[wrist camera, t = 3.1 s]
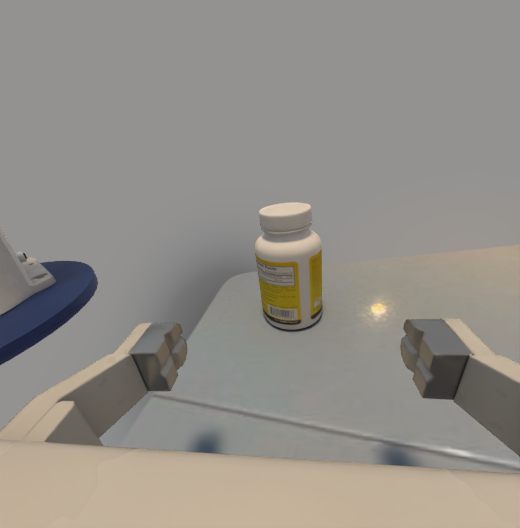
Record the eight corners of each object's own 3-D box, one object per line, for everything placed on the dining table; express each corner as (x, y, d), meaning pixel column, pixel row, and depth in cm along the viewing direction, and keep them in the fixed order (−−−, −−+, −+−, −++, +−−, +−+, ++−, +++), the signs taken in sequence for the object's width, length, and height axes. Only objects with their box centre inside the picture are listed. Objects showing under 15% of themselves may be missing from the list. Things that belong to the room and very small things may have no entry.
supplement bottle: (305, 291, 26) (302, 197, 22) (333, 321, 21) (336, 208, 17) (256, 304, 25) (243, 207, 20) (274, 339, 20) (262, 223, 16)
